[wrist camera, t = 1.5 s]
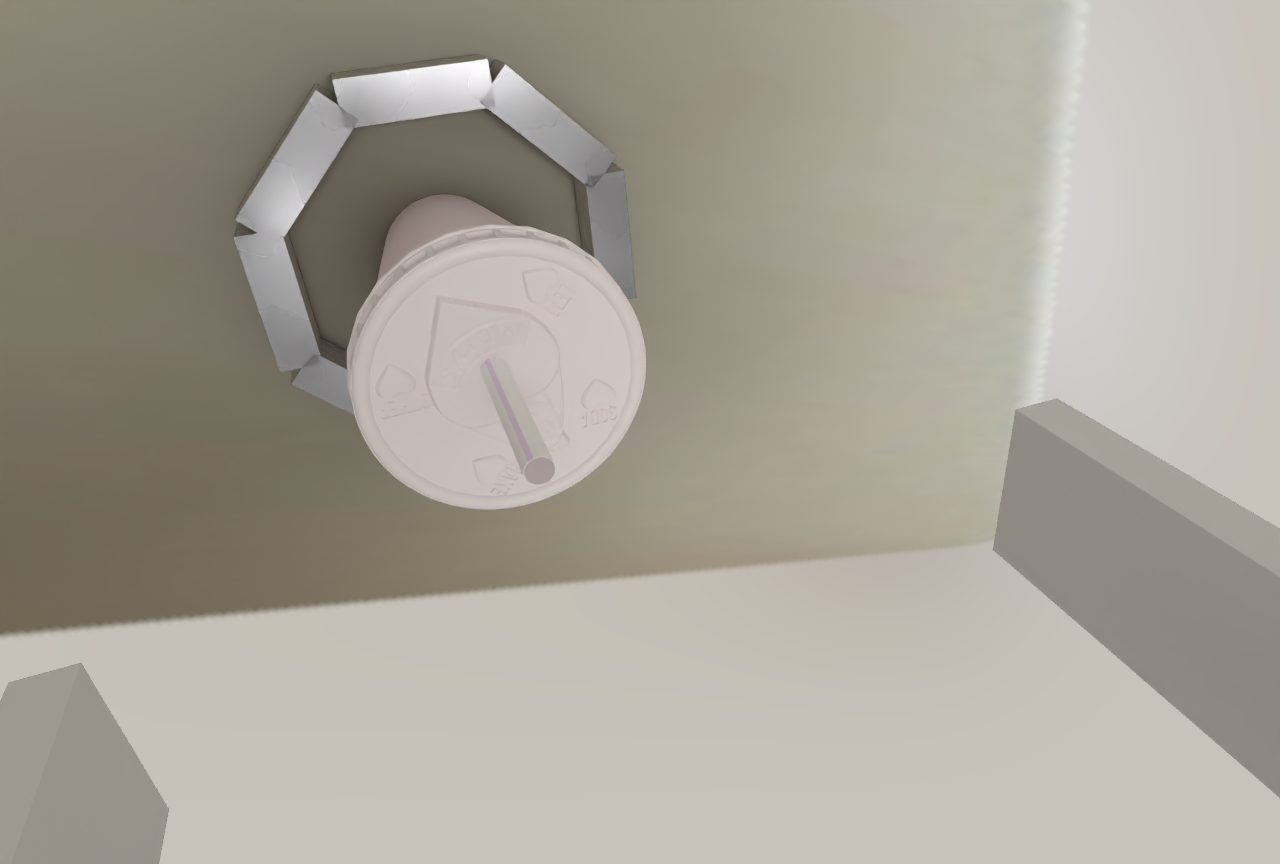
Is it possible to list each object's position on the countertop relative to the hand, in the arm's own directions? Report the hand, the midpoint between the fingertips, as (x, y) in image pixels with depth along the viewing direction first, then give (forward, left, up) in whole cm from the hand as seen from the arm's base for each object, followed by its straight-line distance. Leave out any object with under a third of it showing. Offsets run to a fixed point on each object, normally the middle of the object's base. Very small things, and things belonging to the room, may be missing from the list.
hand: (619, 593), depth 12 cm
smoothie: (0, 0, -17) cm, 17 cm away
